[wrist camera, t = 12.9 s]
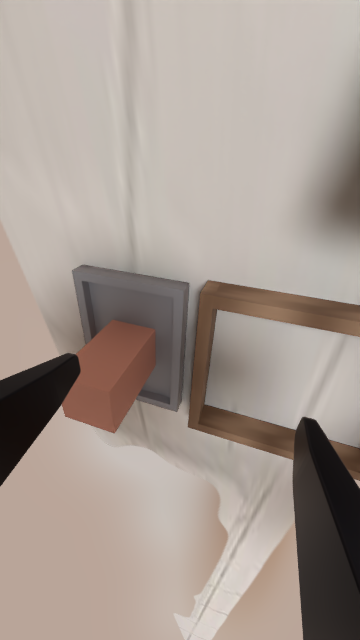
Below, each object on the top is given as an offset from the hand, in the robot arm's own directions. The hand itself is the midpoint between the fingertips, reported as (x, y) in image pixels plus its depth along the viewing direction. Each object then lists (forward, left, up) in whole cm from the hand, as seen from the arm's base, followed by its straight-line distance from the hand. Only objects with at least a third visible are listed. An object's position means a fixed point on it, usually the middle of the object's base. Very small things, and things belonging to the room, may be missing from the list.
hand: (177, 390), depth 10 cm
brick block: (+8, +8, -11) cm, 16 cm away
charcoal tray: (+8, +8, -12) cm, 16 cm away
